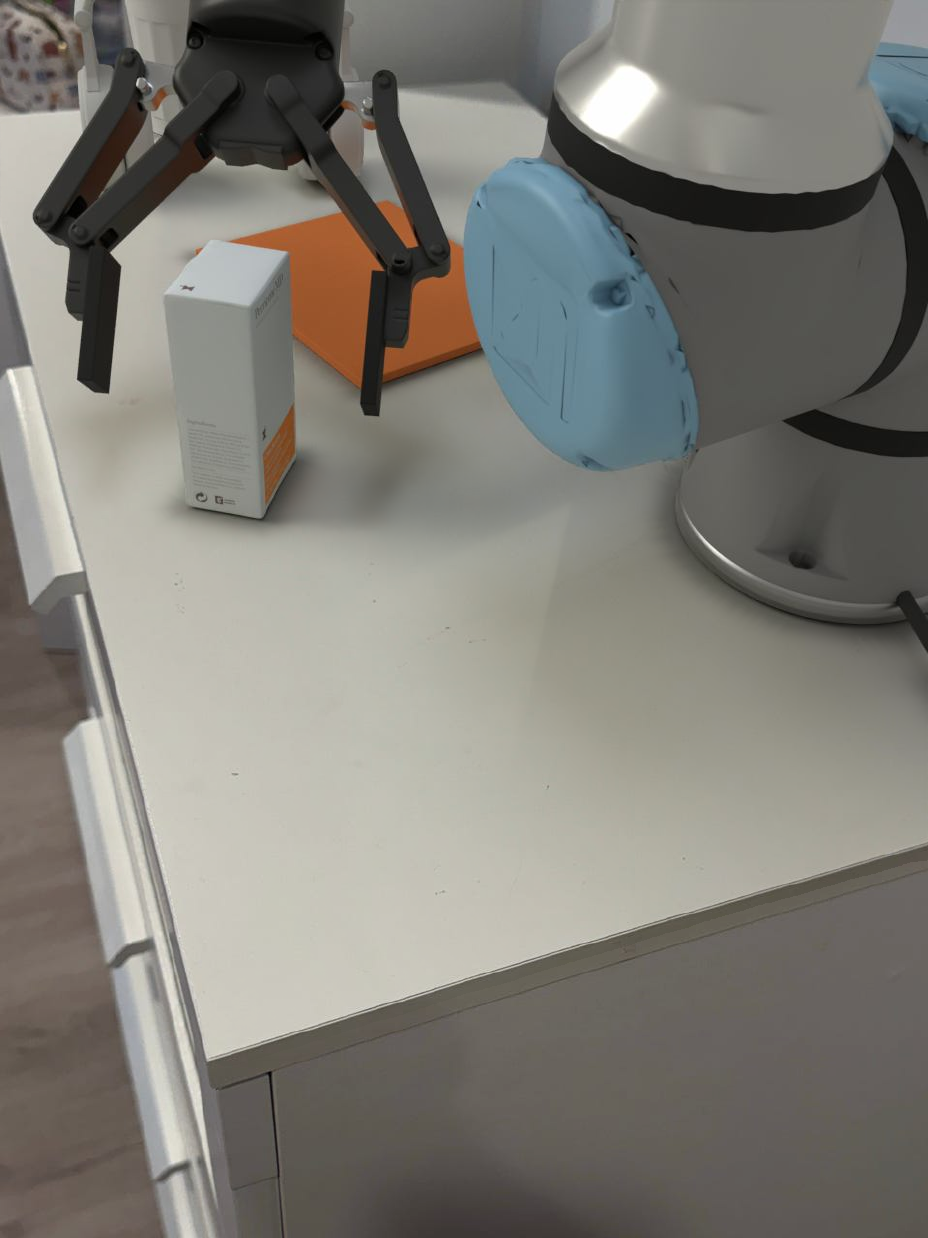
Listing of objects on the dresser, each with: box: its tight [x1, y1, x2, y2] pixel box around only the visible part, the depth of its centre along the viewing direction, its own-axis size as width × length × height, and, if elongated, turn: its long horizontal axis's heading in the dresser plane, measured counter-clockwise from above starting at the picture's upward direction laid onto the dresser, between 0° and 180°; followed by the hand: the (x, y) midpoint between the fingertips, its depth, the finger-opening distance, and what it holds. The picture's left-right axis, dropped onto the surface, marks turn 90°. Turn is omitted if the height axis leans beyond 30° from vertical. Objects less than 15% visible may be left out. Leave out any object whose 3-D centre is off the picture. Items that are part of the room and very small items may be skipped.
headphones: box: [73, 0, 365, 190], centre depth 83 cm, size 20×8×19 cm, turn 103°
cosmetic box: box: [162, 239, 298, 520], centre depth 58 cm, size 6×4×12 cm
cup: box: [124, 0, 190, 136], centre depth 94 cm, size 8×8×12 cm
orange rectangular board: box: [195, 199, 483, 390], centre depth 79 cm, size 20×16×1 cm
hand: (231, 399), depth 58 cm, fingers open, 13 cm apart
